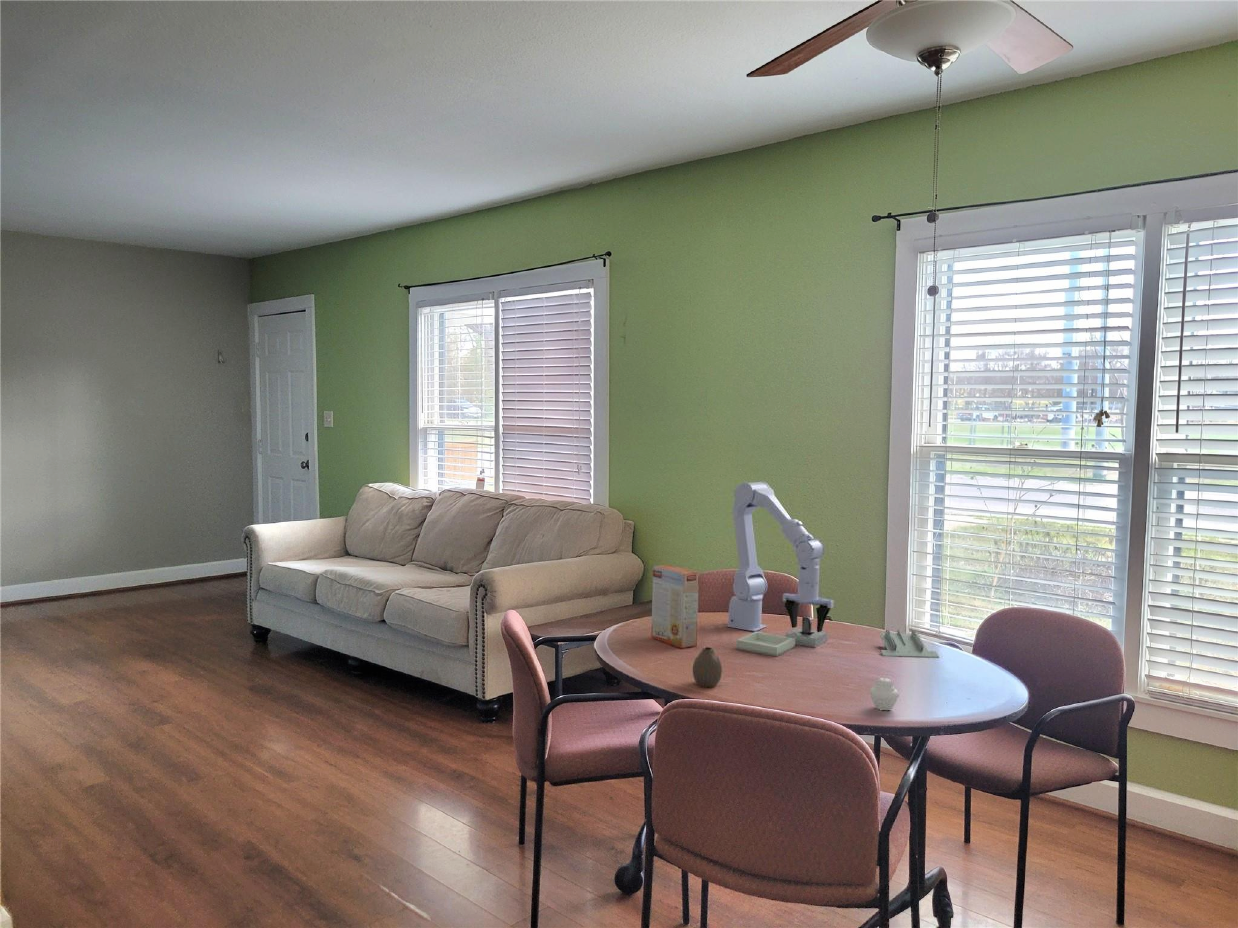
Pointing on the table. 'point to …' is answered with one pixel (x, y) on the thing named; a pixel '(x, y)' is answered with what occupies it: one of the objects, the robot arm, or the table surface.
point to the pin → (806, 625)
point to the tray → (766, 643)
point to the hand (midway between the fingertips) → (806, 629)
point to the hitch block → (807, 637)
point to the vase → (707, 668)
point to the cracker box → (675, 605)
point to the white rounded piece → (884, 694)
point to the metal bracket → (905, 645)
